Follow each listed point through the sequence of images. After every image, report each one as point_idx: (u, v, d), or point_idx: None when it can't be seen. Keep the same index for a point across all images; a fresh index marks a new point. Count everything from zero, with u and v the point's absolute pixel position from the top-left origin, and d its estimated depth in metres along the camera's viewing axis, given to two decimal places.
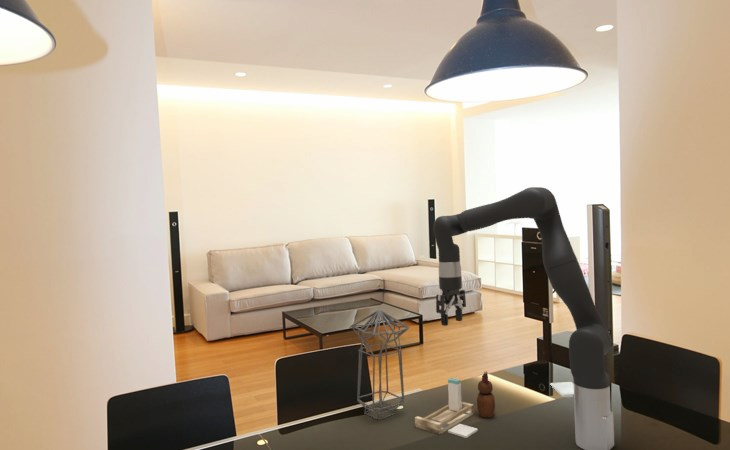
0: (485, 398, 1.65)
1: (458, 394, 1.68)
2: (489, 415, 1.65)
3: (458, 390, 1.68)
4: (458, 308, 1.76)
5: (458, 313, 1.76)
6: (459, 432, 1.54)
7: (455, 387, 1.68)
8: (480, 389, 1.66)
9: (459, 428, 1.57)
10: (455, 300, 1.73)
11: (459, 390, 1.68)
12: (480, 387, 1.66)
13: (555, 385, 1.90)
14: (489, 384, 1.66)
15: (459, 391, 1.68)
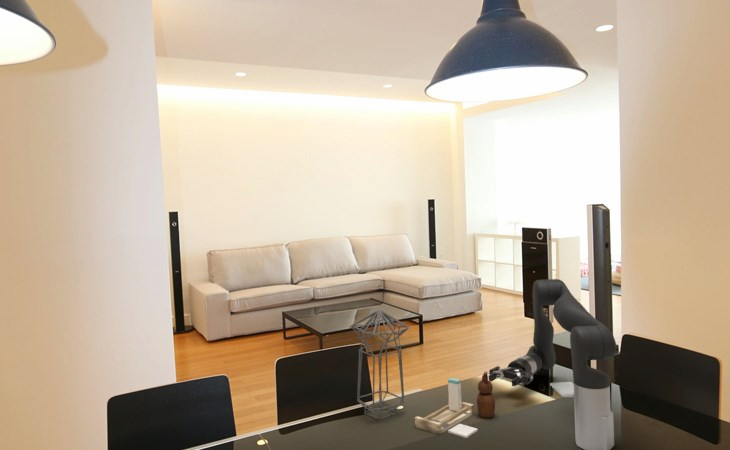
0: (485, 398, 1.65)
1: (458, 394, 1.68)
2: (489, 415, 1.65)
3: (458, 390, 1.68)
4: None
5: None
6: (459, 432, 1.54)
7: (455, 387, 1.68)
8: (480, 389, 1.66)
9: (459, 428, 1.57)
10: (513, 372, 1.81)
11: (459, 390, 1.68)
12: (480, 387, 1.66)
13: (555, 385, 1.90)
14: (489, 384, 1.66)
15: (459, 391, 1.68)
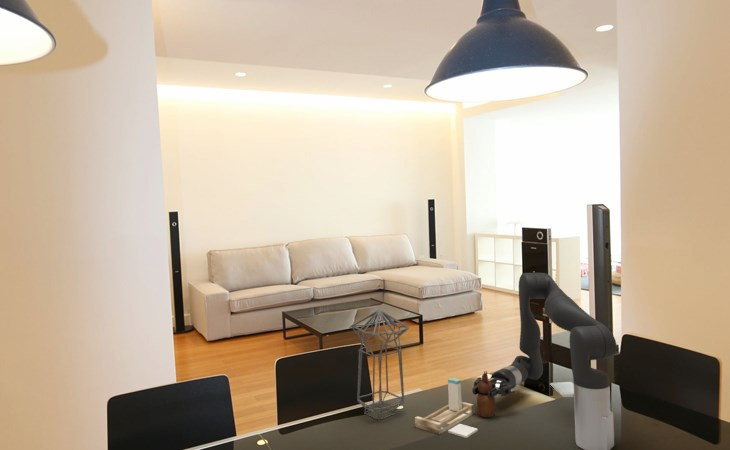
0: (485, 398, 1.65)
1: (458, 394, 1.68)
2: (489, 415, 1.65)
3: (458, 390, 1.68)
4: None
5: None
6: (459, 432, 1.54)
7: (455, 387, 1.68)
8: (480, 389, 1.66)
9: (459, 428, 1.57)
10: (495, 382, 1.71)
11: (459, 390, 1.68)
12: (480, 387, 1.66)
13: (555, 385, 1.90)
14: (489, 384, 1.66)
15: (459, 391, 1.68)
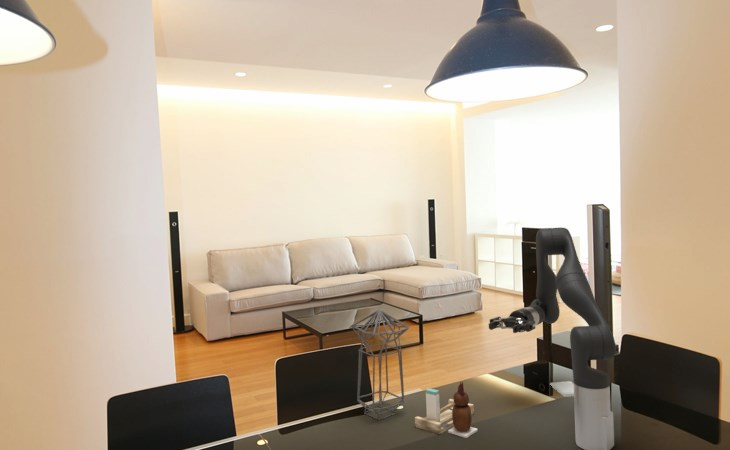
0: (460, 411, 1.53)
1: (436, 406, 1.59)
2: (465, 429, 1.54)
3: (436, 401, 1.59)
4: None
5: None
6: (459, 432, 1.54)
7: (433, 399, 1.59)
8: (455, 401, 1.55)
9: None
10: (515, 320, 1.73)
11: (437, 401, 1.59)
12: (455, 399, 1.55)
13: (555, 385, 1.90)
14: (465, 396, 1.55)
15: (437, 402, 1.59)
